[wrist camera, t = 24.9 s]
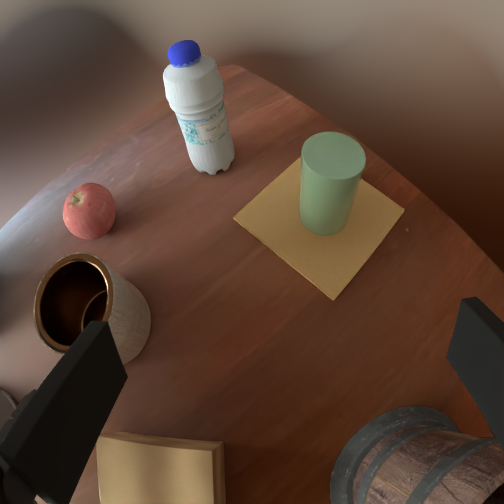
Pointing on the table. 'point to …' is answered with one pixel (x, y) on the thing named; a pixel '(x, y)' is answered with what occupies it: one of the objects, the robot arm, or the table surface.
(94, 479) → the table surface
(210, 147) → the bottle
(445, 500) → the tankard
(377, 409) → the table surface
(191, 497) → the plate
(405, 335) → the table surface
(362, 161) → the canister
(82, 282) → the planter
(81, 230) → the apple
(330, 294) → the cork mat
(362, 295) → the table surface
